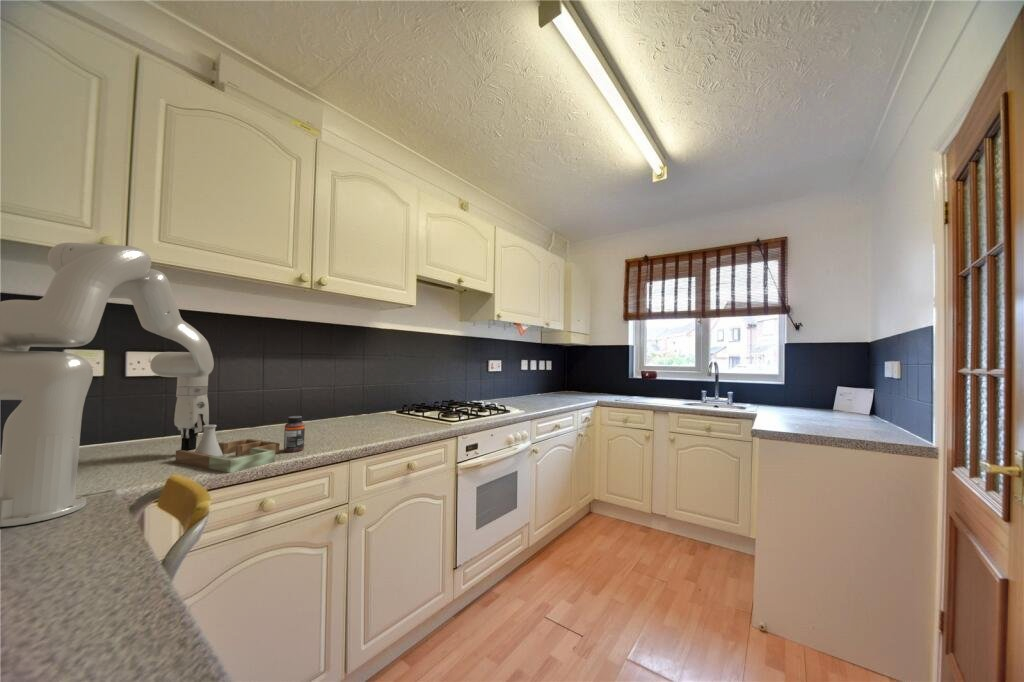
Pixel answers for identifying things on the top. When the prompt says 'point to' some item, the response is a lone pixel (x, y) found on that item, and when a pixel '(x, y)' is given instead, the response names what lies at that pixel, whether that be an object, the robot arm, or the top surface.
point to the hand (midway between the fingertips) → (188, 449)
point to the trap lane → (256, 448)
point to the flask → (209, 442)
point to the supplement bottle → (294, 434)
